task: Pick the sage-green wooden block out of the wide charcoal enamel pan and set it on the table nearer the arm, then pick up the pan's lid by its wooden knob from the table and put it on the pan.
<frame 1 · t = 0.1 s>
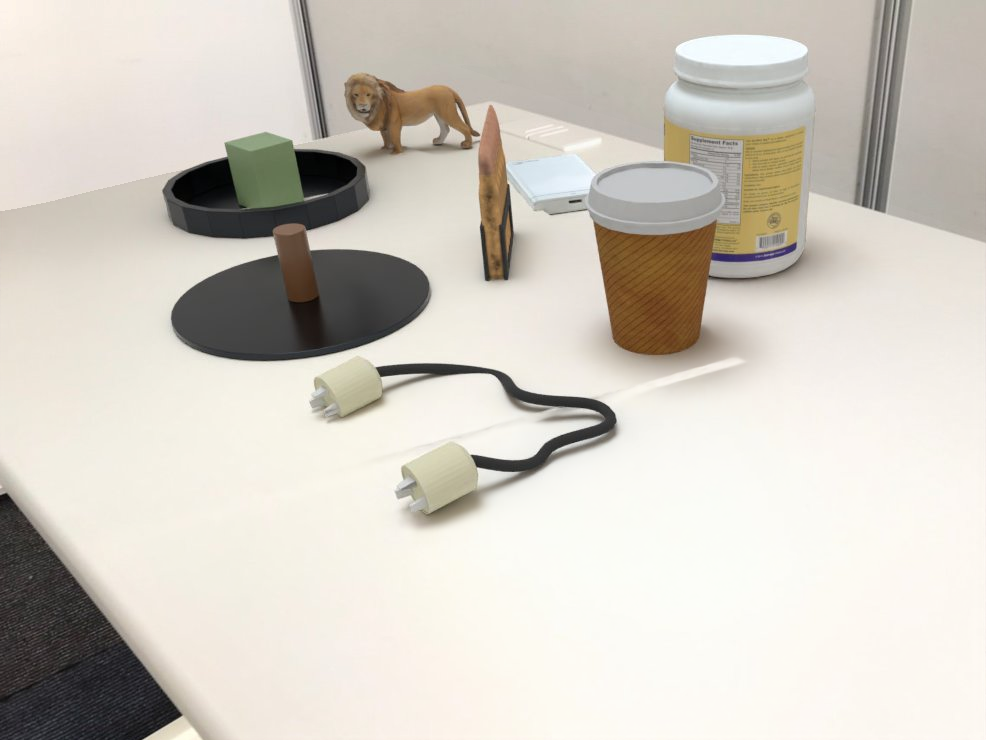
cable: (457, 429, 67), on the table
supplement tub: (733, 256, 90), on the table
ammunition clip: (501, 263, 90), on the table
lid: (304, 302, 82), point 1 cm above the table
lion figurine: (416, 154, 116), on the table
block: (271, 203, 101), resting on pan
hard drive: (558, 193, 105), on the table
disposable coffee cup: (655, 343, 77), on the table
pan: (272, 208, 102), on the table
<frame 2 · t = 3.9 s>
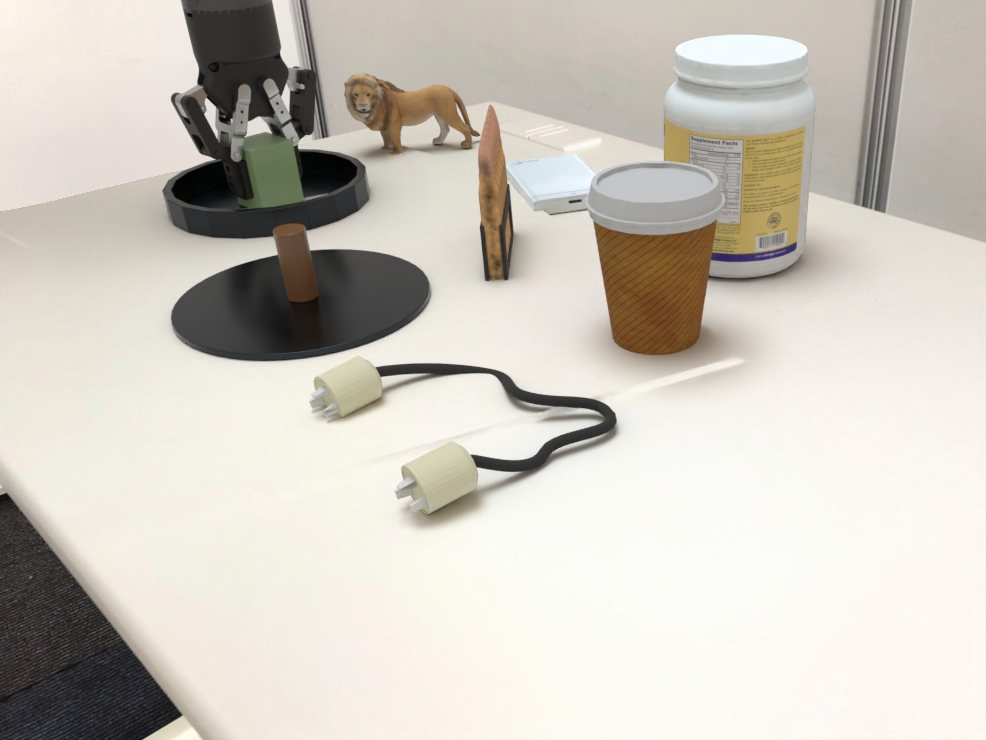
hand: (268, 190, 101), 2 cm above the table, tool pointing down, fingers closed on block, 4 cm apart
block: (271, 203, 101), point 1 cm above the table, touching gripper, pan
everything else where it was.
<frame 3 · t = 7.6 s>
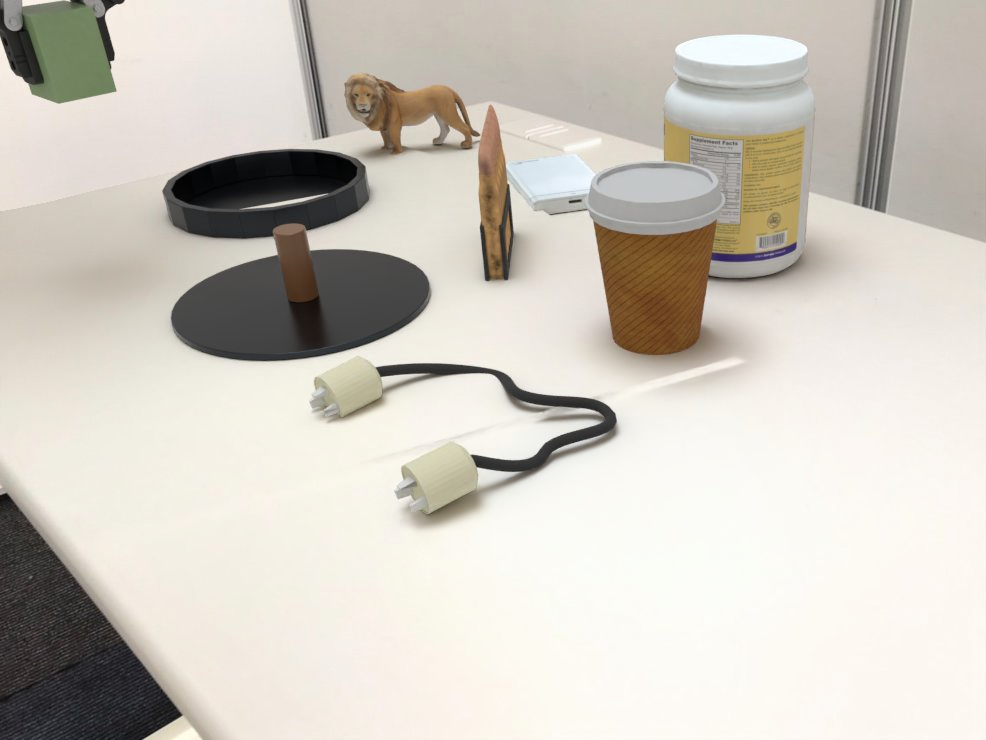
hand: (68, 75, 79), 16 cm above the table, tool pointing down, fingers closed on block, 4 cm apart
block: (74, 93, 79), point 15 cm above the table, touching gripper
everything else where it was.
when the fingers open (1 cm above the table, at t = 11.4 s): block stays where it is, on the table.
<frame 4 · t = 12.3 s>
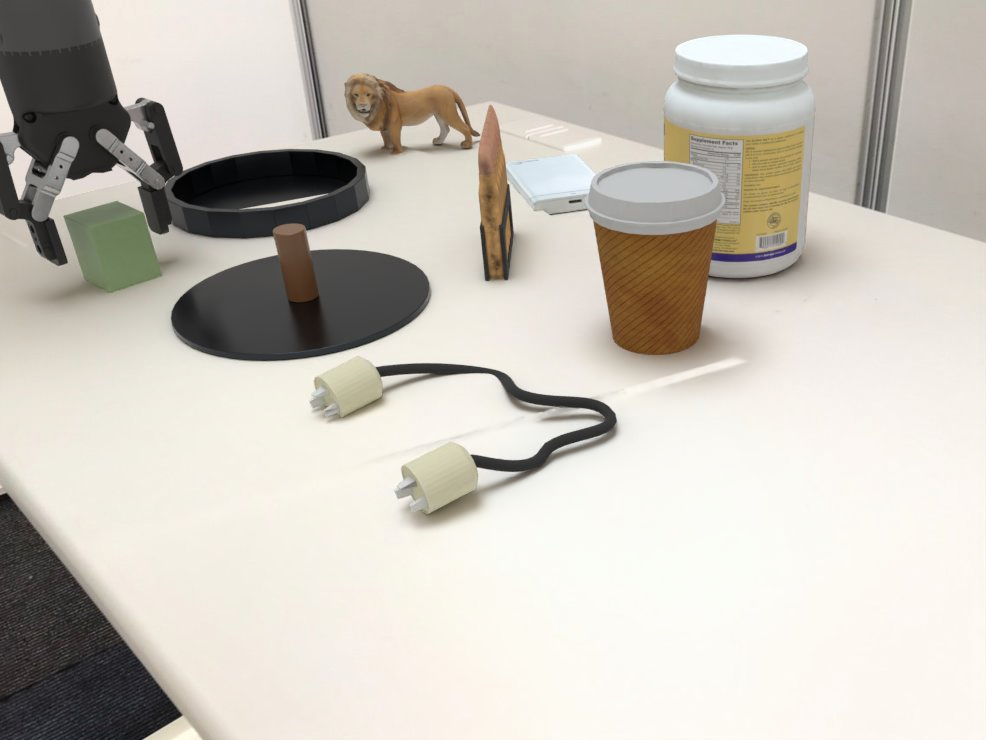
hand: (110, 246, 85), 3 cm above the table, tool pointing down, fingers open, 8 cm apart
block: (125, 283, 87), on the table
everything else where it was.
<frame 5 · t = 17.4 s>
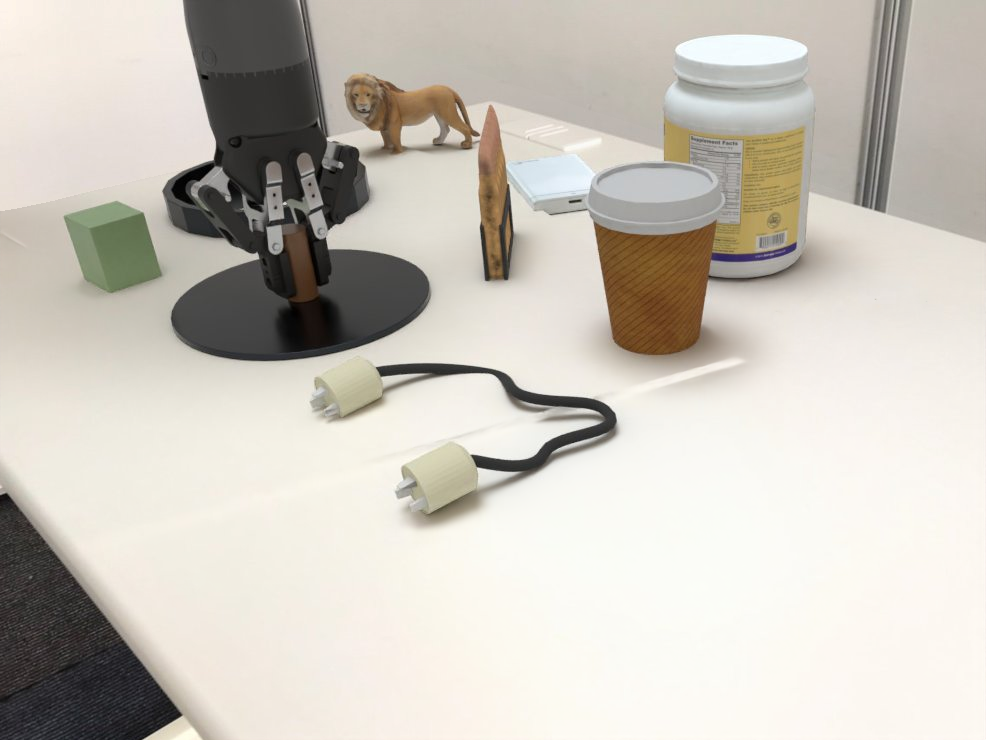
hand: (301, 288, 81), 2 cm above the table, tool pointing down, fingers closed on lid, 2 cm apart
lid: (304, 302, 82), point 1 cm above the table, touching gripper
everything else where it was.
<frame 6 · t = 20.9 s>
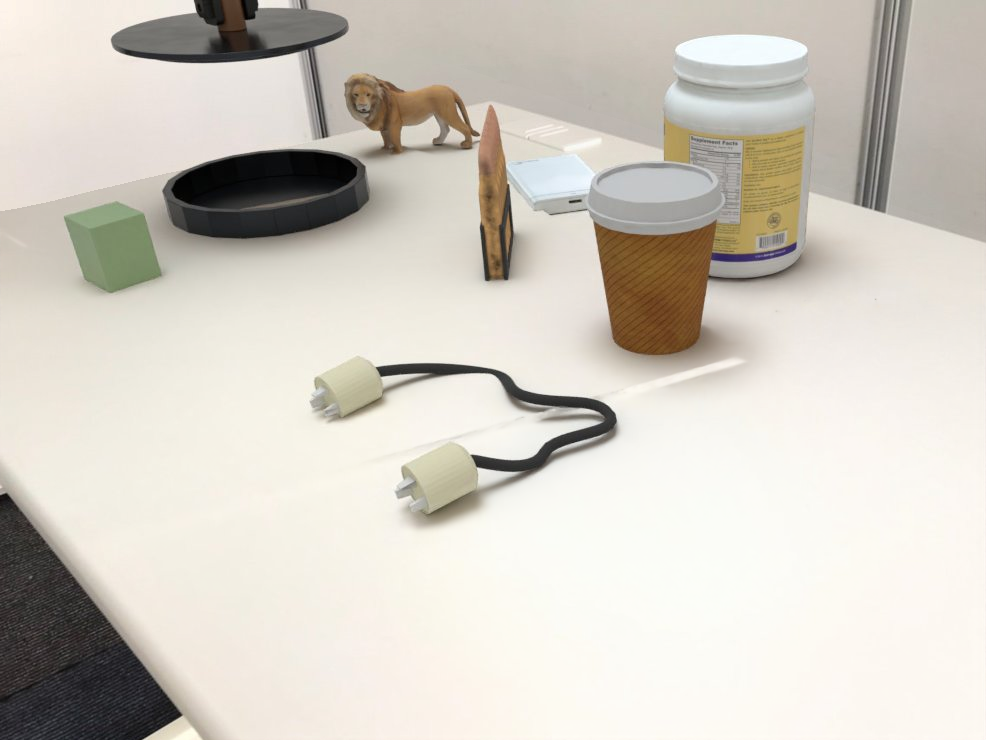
hand: (230, 20, 90), 17 cm above the table, tool pointing down, fingers closed on lid, 2 cm apart
lid: (233, 35, 91), point 16 cm above the table, touching gripper
everything else where it was.
when the fingers open (4 cm above the table, at t = 24.4 s): lid stays where it is, resting on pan.
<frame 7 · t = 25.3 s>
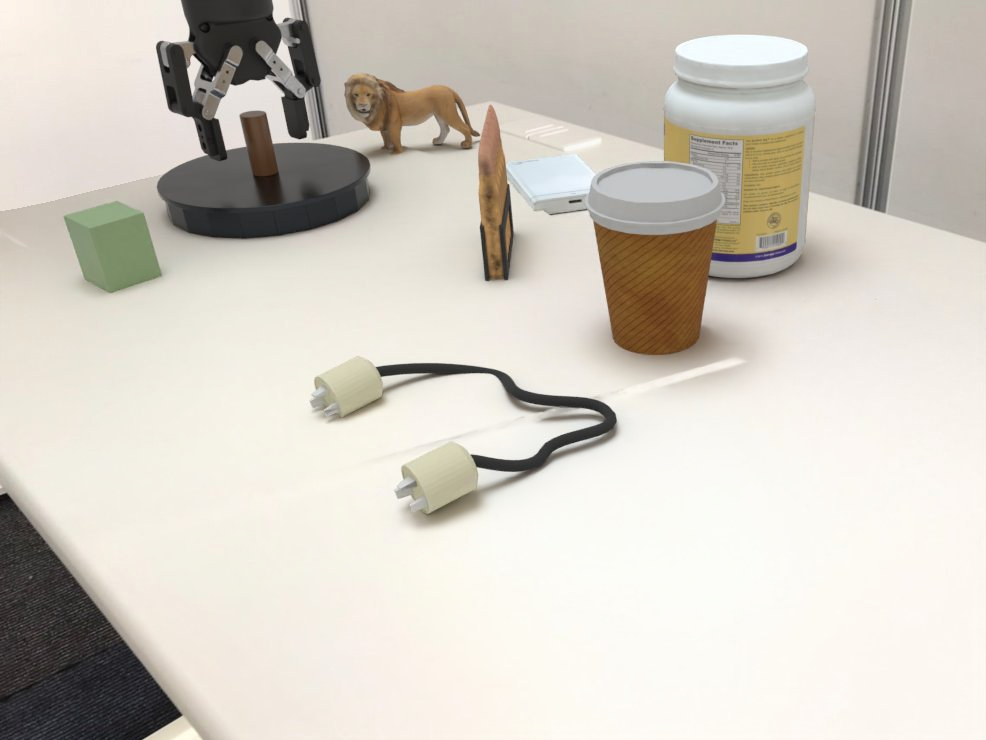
hand: (259, 148, 98), 6 cm above the table, tool pointing down, fingers open, 8 cm apart
lid: (266, 177, 100), point 3 cm above the table, touching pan
everything else where it was.
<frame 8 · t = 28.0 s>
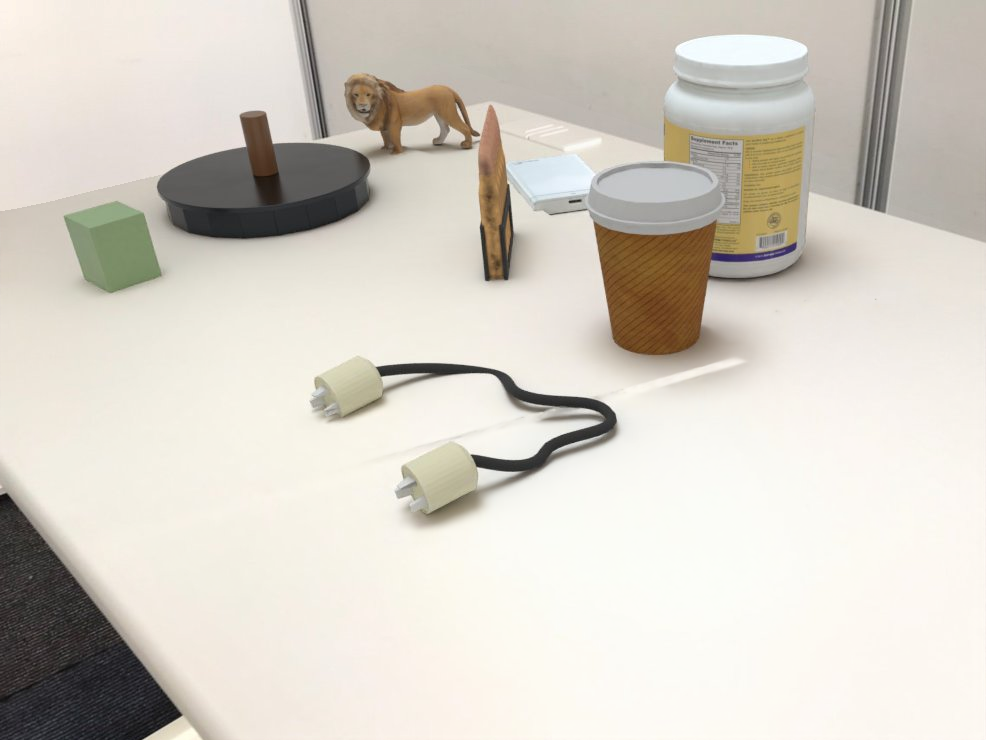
nothing on the table moved.
at the end: block inside the target area (0.1 cm from its centre), on the table; lid 0.0 cm off-centre on the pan, point 3.0 cm above the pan's base; lid tilted 0° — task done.
